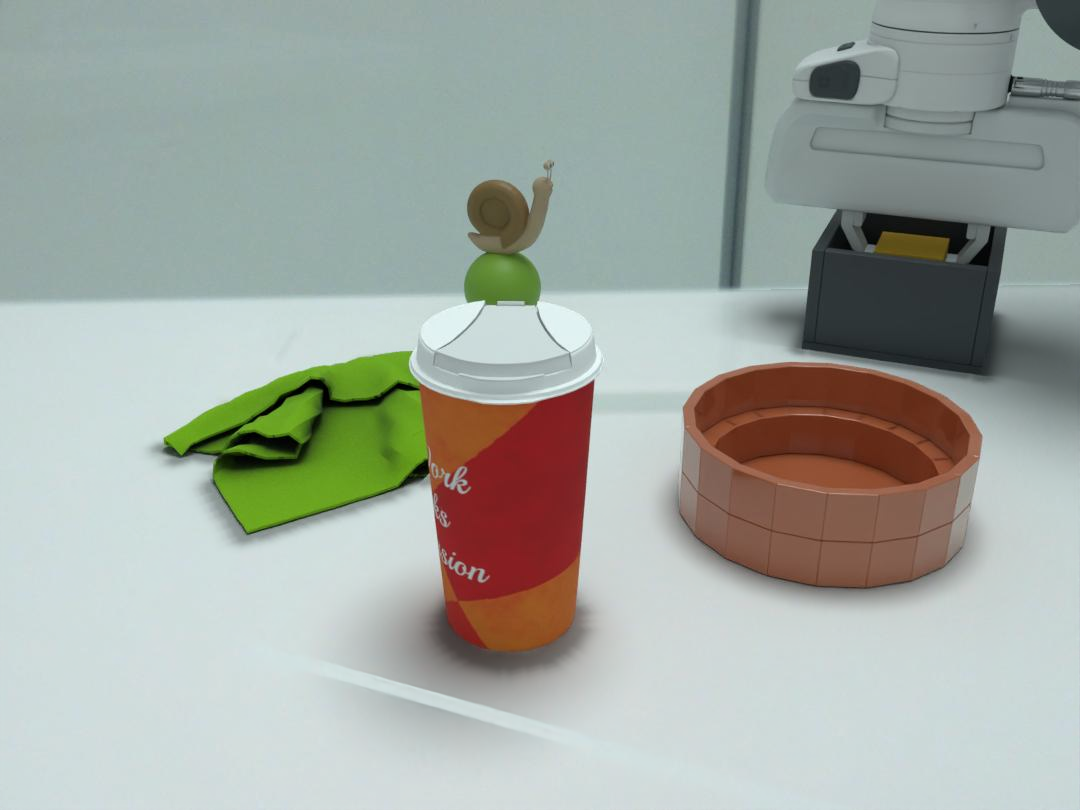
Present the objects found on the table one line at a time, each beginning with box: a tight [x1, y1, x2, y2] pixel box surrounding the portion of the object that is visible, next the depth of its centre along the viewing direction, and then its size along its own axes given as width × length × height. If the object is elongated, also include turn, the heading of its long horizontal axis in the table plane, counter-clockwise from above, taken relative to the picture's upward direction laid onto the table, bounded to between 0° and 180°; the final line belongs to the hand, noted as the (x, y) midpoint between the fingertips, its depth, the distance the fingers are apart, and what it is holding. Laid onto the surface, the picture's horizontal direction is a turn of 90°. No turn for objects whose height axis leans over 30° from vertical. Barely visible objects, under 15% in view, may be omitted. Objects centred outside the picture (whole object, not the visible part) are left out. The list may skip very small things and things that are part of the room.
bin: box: [801, 209, 1008, 376], centre depth 80 cm, size 12×12×7 cm
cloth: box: [163, 350, 430, 534], centre depth 67 cm, size 20×22×2 cm
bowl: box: [677, 361, 984, 588], centre depth 58 cm, size 14×14×6 cm
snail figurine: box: [463, 159, 555, 308], centre depth 80 cm, size 5×6×12 cm
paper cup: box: [409, 300, 605, 652], centre depth 48 cm, size 8×8×14 cm
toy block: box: [873, 231, 950, 261], centre depth 79 cm, size 4×4×4 cm
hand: (906, 277), depth 79 cm, fingers closed on toy block, 4 cm apart
